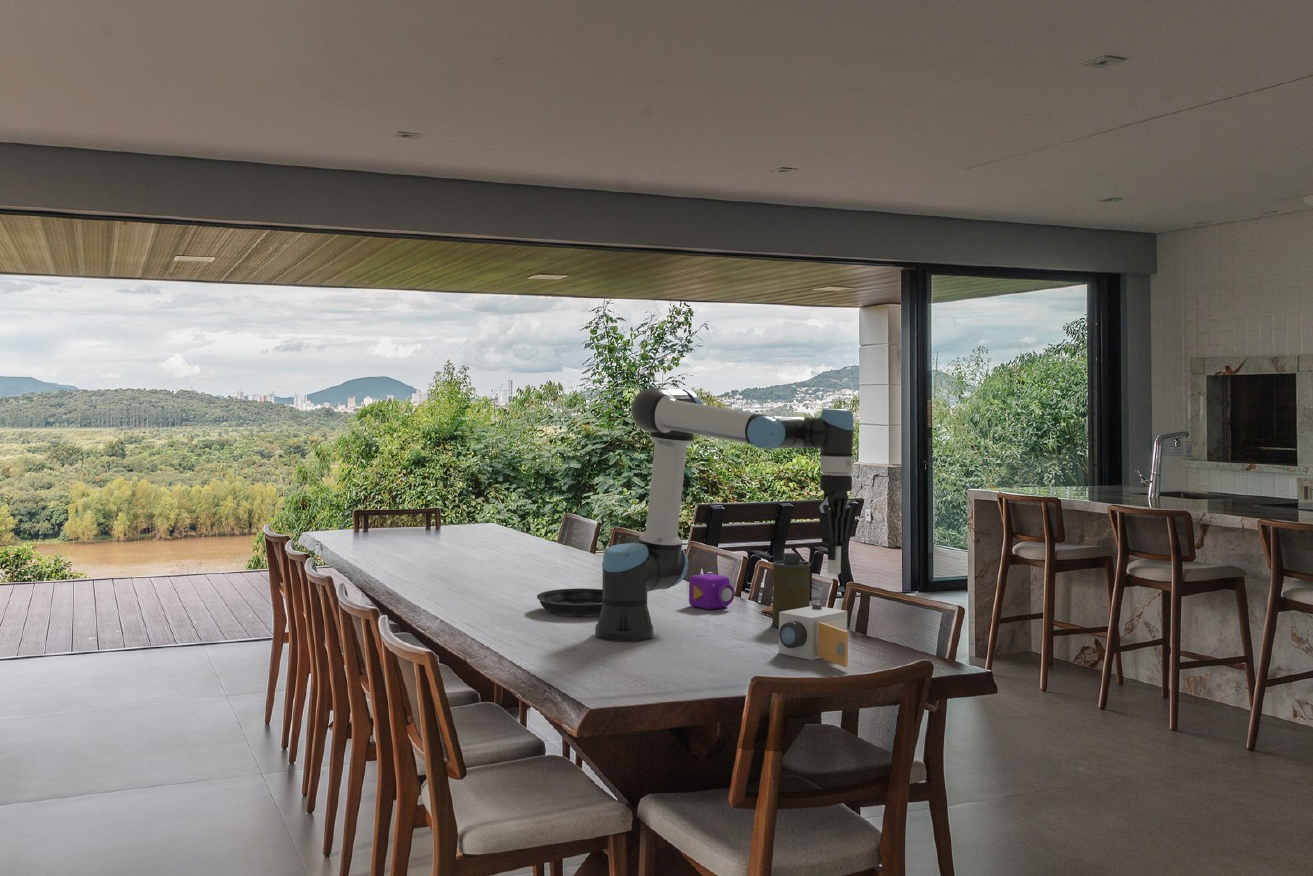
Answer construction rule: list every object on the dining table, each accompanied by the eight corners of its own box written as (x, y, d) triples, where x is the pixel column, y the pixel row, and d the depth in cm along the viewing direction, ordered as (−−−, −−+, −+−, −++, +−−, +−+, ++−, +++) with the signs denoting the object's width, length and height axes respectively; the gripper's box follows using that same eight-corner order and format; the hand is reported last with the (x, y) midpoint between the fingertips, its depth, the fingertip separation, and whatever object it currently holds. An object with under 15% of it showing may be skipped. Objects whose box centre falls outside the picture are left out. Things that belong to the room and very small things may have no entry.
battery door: (811, 655, 252) (812, 621, 252) (819, 655, 253) (819, 621, 253) (840, 667, 241) (841, 632, 241) (848, 666, 242) (848, 631, 241)
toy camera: (722, 613, 311) (722, 579, 311) (684, 607, 319) (684, 574, 319) (742, 608, 319) (742, 574, 319) (704, 602, 328) (705, 570, 328)
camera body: (803, 662, 249) (804, 615, 249) (769, 655, 257) (770, 609, 256) (847, 651, 262) (848, 607, 261) (813, 645, 269) (814, 601, 269)
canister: (780, 630, 286) (781, 556, 286) (765, 623, 296) (766, 551, 296) (817, 629, 289) (818, 555, 289) (801, 621, 299) (802, 550, 299)
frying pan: (577, 624, 292) (577, 599, 292) (518, 612, 309) (519, 588, 309) (684, 605, 323) (684, 583, 323) (625, 595, 341) (625, 573, 341)
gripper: (835, 475, 246) (832, 578, 246) (864, 474, 255) (861, 572, 256) (807, 474, 250) (805, 574, 251) (837, 472, 260) (834, 568, 261)
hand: (833, 573), depth 253 cm, fingers closed
